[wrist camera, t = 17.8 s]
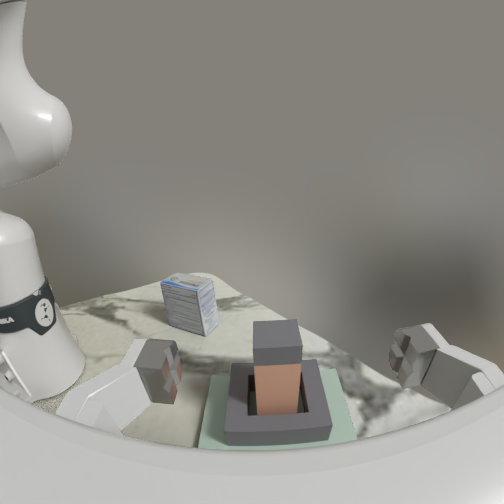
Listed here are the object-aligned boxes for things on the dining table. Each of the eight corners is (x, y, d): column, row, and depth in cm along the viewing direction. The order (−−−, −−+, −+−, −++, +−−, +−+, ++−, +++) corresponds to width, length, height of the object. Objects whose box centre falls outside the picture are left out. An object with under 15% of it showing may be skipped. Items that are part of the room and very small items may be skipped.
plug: (258, 423, 24) (252, 348, 21) (258, 397, 28) (253, 321, 25) (295, 421, 24) (302, 345, 21) (292, 395, 28) (296, 319, 24)
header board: (198, 454, 21) (190, 437, 20) (212, 378, 32) (208, 357, 31) (356, 446, 21) (365, 427, 19) (334, 372, 32) (338, 351, 31)
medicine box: (220, 324, 45) (214, 278, 42) (205, 338, 41) (198, 290, 39) (184, 314, 48) (176, 271, 46) (169, 326, 45) (159, 281, 42)
